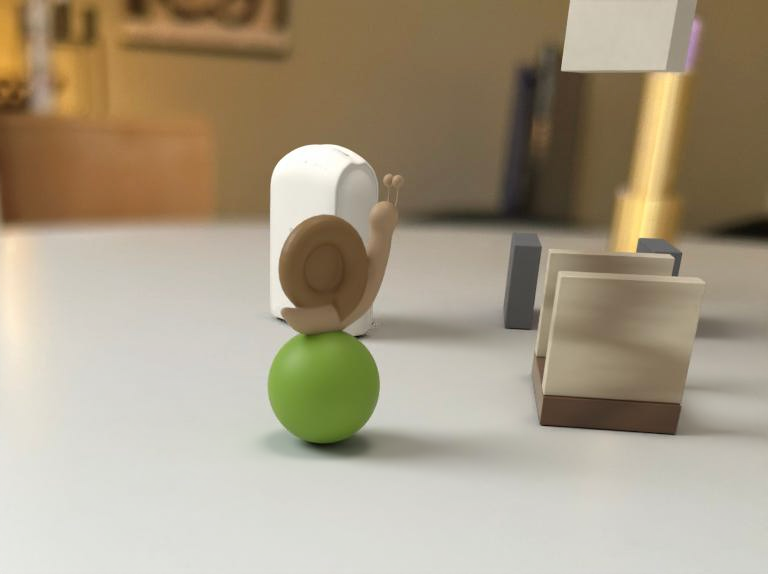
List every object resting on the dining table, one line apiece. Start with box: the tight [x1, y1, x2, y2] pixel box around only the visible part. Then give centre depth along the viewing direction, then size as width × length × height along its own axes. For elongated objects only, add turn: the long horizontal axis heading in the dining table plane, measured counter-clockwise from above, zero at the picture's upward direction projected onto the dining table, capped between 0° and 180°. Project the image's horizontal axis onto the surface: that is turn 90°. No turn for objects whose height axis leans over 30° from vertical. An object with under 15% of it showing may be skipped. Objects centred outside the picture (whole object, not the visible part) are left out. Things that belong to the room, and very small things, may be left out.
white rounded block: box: [269, 143, 379, 337], centre depth 73 cm, size 10×4×12 cm, turn 29°
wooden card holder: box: [531, 248, 707, 435], centre depth 56 cm, size 7×12×8 cm, turn 170°
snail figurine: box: [267, 173, 404, 444], centre depth 47 cm, size 5×6×12 cm
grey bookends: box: [502, 231, 683, 330], centre depth 78 cm, size 12×9×6 cm
